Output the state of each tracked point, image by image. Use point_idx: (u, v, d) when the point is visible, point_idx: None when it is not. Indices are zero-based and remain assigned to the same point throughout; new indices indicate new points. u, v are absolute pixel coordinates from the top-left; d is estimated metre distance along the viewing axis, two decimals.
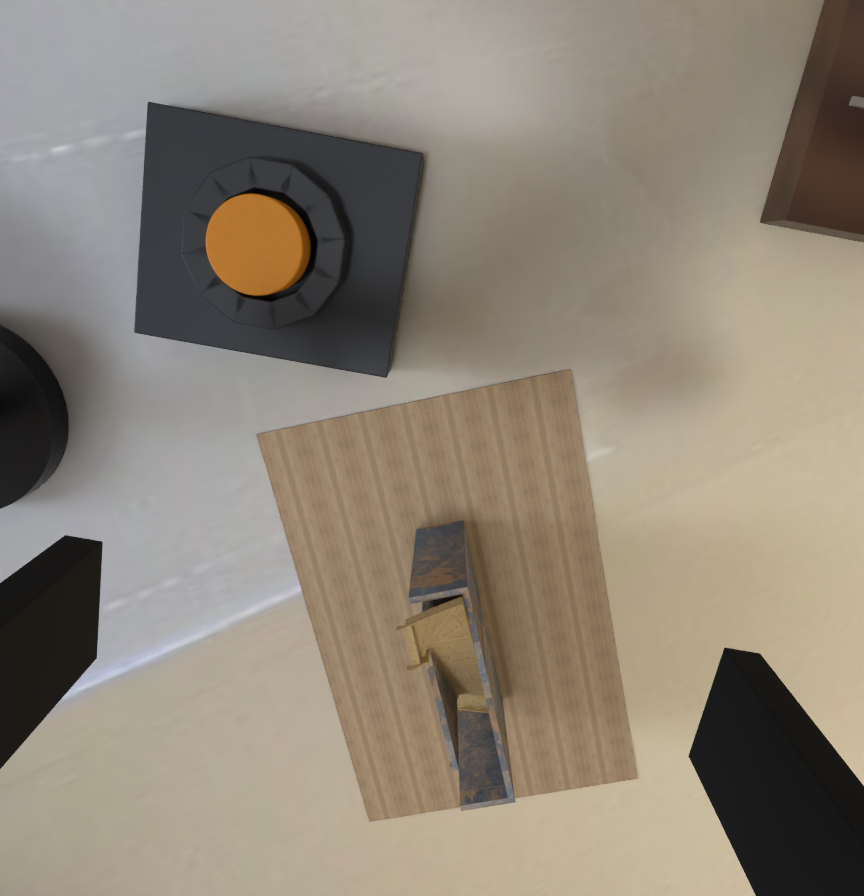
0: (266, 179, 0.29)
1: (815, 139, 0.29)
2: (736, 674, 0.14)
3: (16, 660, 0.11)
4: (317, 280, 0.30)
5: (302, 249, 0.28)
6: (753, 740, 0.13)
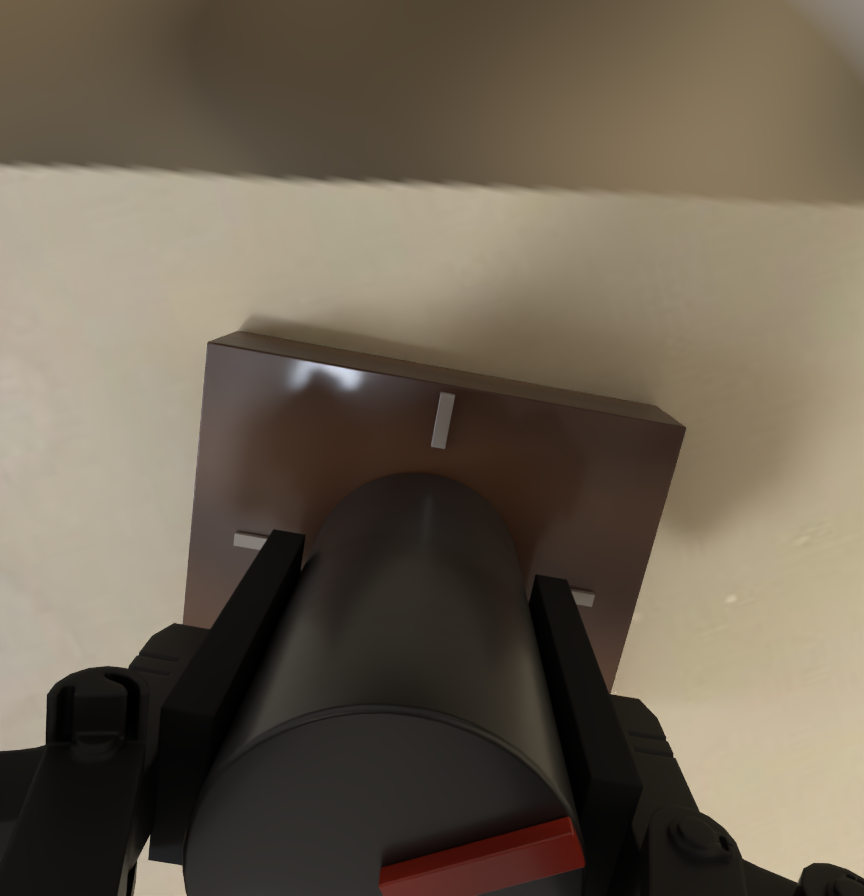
0: None
1: (195, 587, 0.19)
2: (538, 594, 0.15)
3: (270, 634, 0.13)
4: None
5: None
6: (539, 647, 0.14)
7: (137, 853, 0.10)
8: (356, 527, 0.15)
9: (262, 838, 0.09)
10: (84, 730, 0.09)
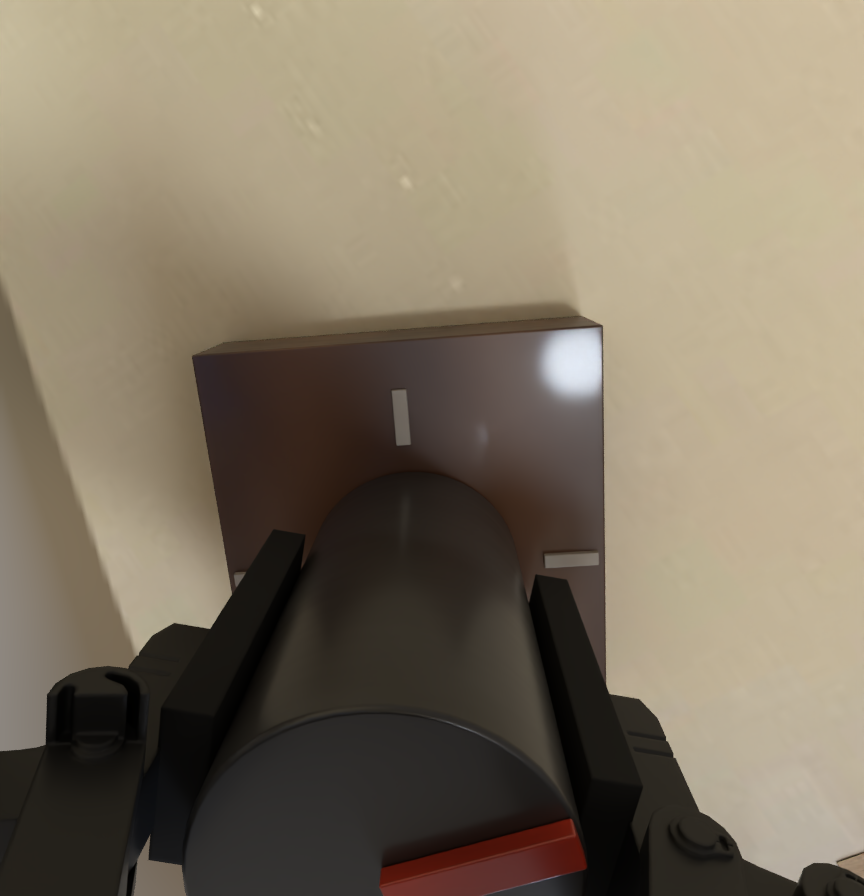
0: None
1: None
2: (538, 594, 0.15)
3: (270, 634, 0.13)
4: None
5: None
6: (539, 647, 0.14)
7: (137, 853, 0.10)
8: (357, 525, 0.15)
9: (262, 838, 0.09)
10: (84, 731, 0.09)
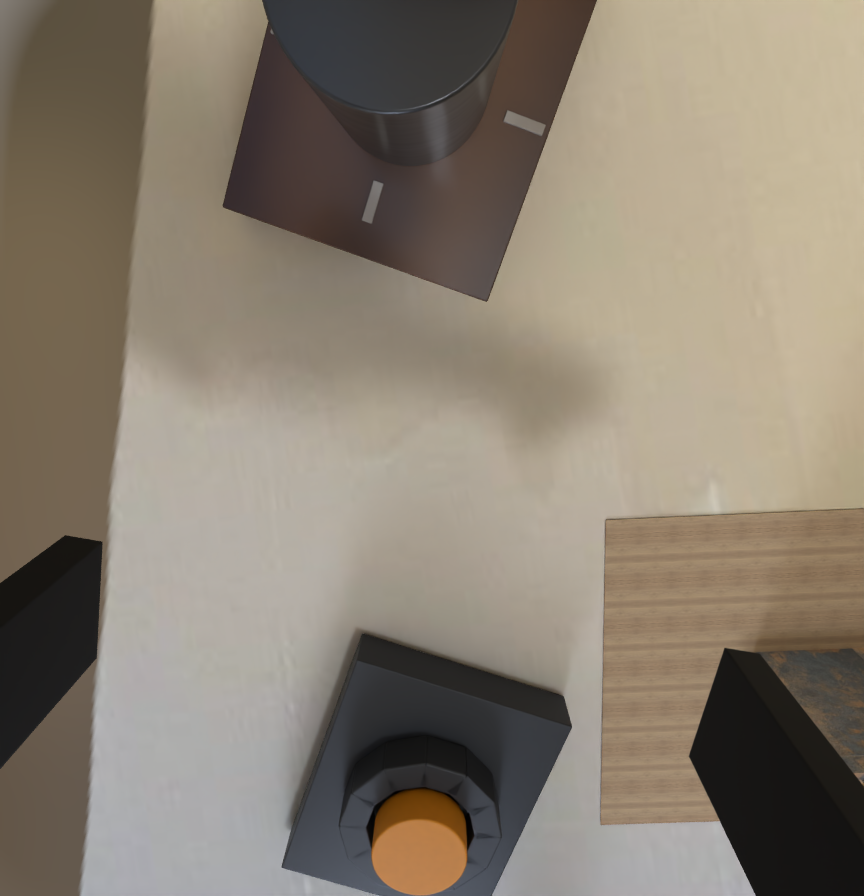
0: (360, 817, 0.30)
1: (402, 263, 0.25)
2: (736, 674, 0.14)
3: (16, 660, 0.11)
4: (461, 793, 0.29)
5: (430, 820, 0.28)
6: (753, 740, 0.13)
7: None
8: None
9: None
10: None
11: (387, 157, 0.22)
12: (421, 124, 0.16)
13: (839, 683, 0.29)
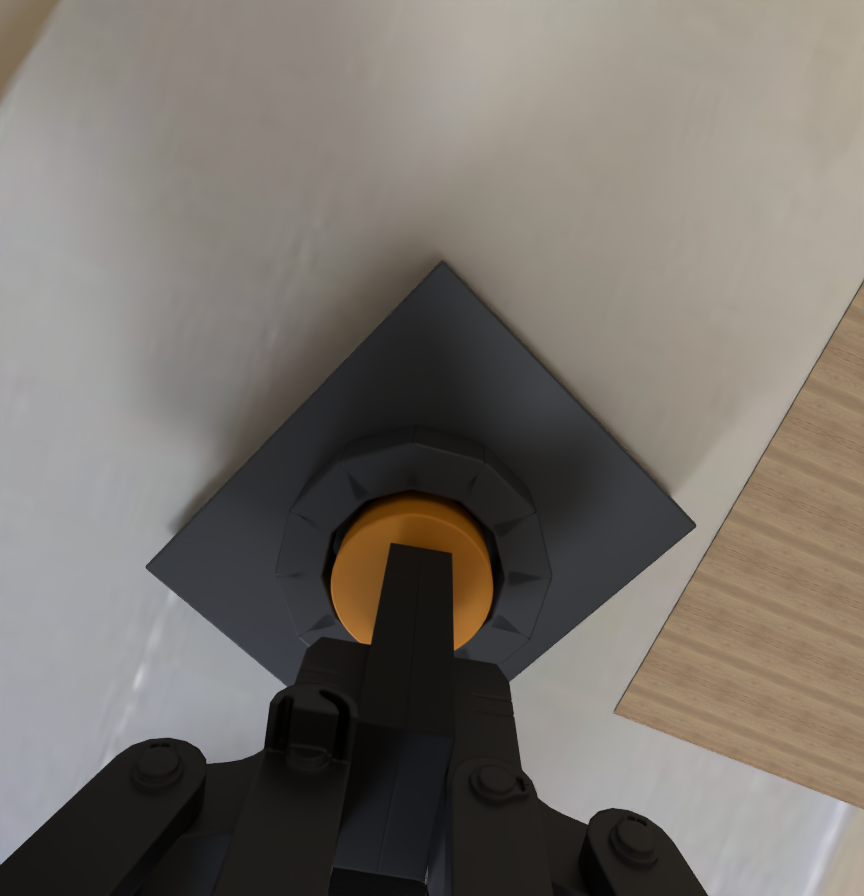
0: (333, 510, 0.17)
1: None
2: None
3: None
4: (511, 539, 0.17)
5: (463, 532, 0.17)
6: None
7: (333, 860, 0.10)
8: None
9: None
10: (298, 742, 0.09)
11: None
12: None
13: None
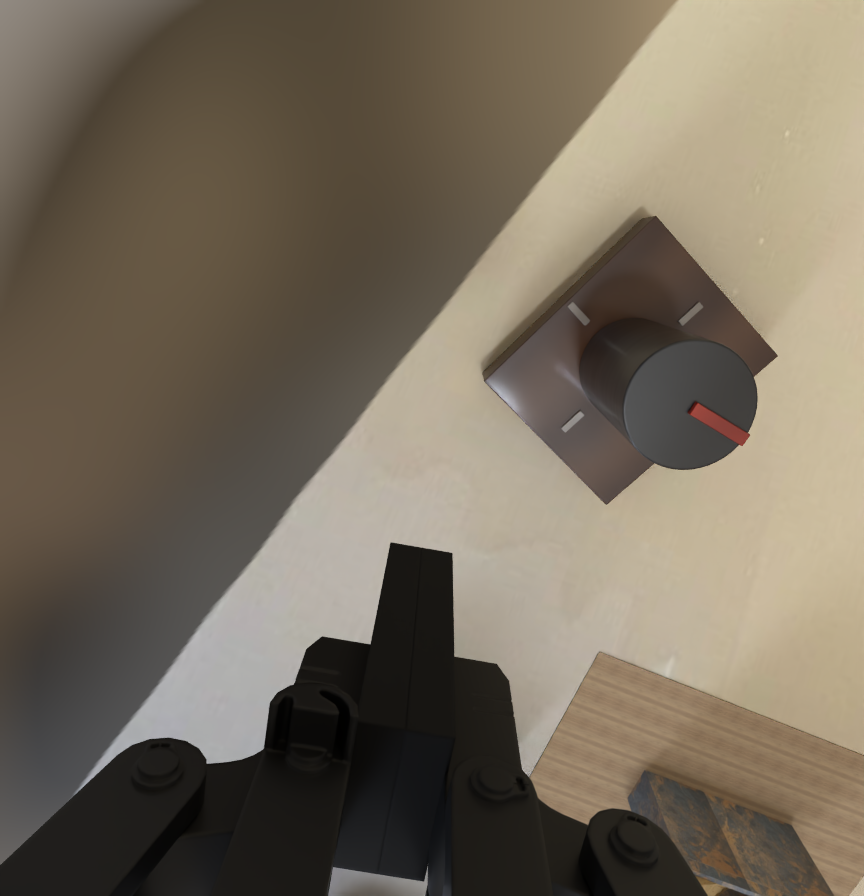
0: None
1: (570, 461, 0.38)
2: None
3: None
4: None
5: None
6: None
7: (333, 860, 0.10)
8: None
9: (682, 365, 0.27)
10: (298, 742, 0.09)
11: None
12: None
13: (691, 811, 0.45)
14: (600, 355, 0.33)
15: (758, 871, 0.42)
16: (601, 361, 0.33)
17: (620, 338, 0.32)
